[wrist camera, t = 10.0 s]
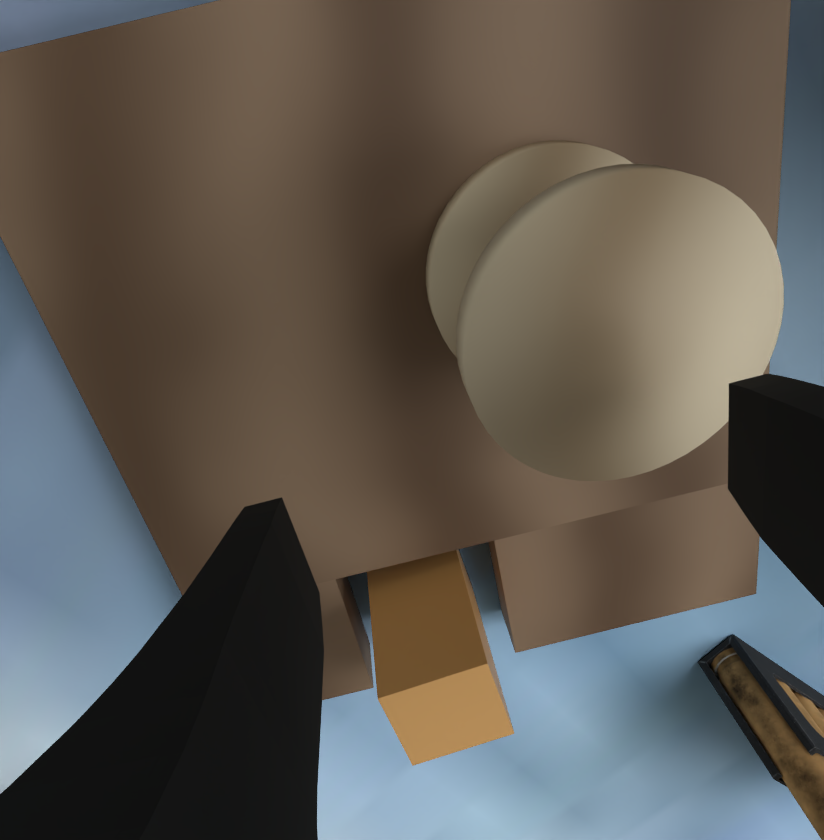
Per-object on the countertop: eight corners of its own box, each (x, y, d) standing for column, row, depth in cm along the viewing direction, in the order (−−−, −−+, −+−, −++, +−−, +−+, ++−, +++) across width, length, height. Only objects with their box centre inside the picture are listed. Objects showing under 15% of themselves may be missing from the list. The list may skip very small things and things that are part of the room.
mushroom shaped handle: (658, 113, 15) (795, 130, 11) (664, 350, 18) (774, 441, 14) (402, 174, 15) (434, 217, 11) (449, 402, 18) (490, 511, 14)
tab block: (449, 523, 22) (487, 663, 17) (472, 586, 24) (514, 733, 19) (365, 551, 23) (377, 698, 17) (393, 612, 24) (412, 765, 19)
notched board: (743, -115, 15) (798, -139, 13) (725, 556, 25) (756, 593, 23) (-36, 71, 15) (-83, 72, 13) (250, 672, 25) (244, 718, 23)
